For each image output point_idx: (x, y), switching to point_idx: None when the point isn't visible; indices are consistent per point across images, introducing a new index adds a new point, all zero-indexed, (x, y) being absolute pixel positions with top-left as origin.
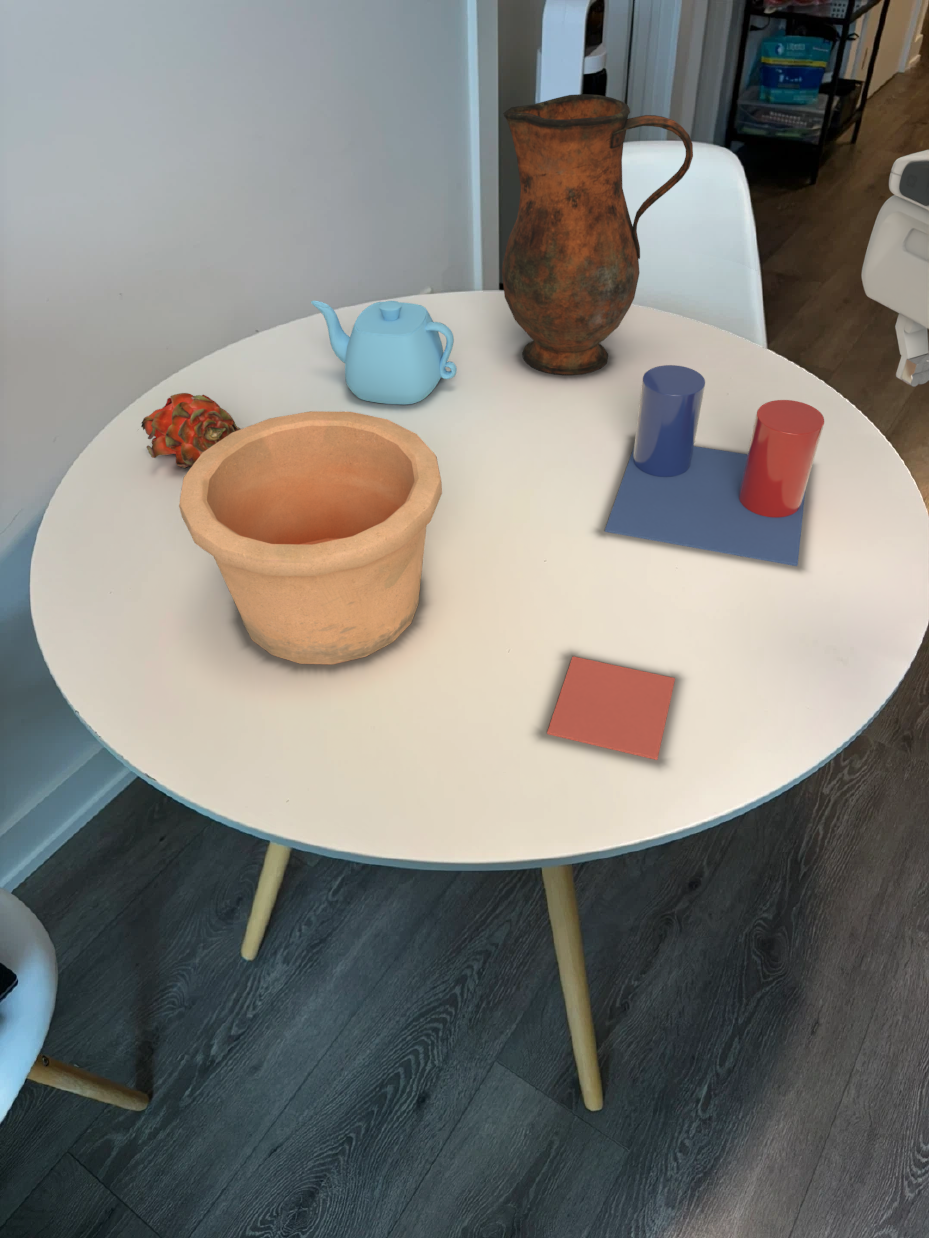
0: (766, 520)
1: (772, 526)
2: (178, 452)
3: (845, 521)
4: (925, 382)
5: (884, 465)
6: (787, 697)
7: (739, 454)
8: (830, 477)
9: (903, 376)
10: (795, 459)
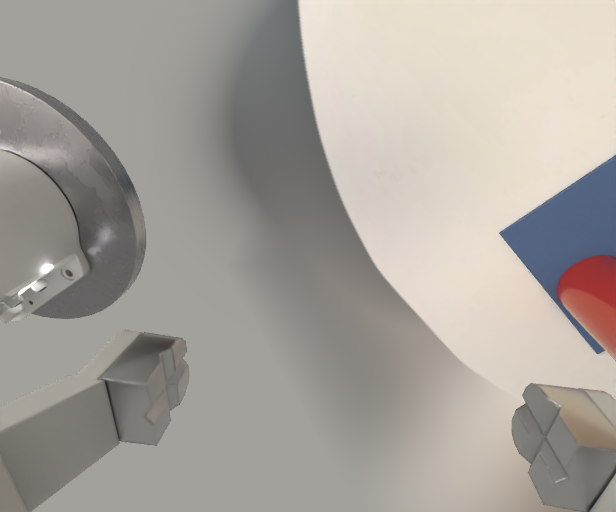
0: (572, 258)
1: (560, 256)
2: None
3: (509, 317)
4: (513, 420)
5: None
6: (375, 87)
7: None
8: (564, 354)
9: (582, 396)
10: (613, 315)
